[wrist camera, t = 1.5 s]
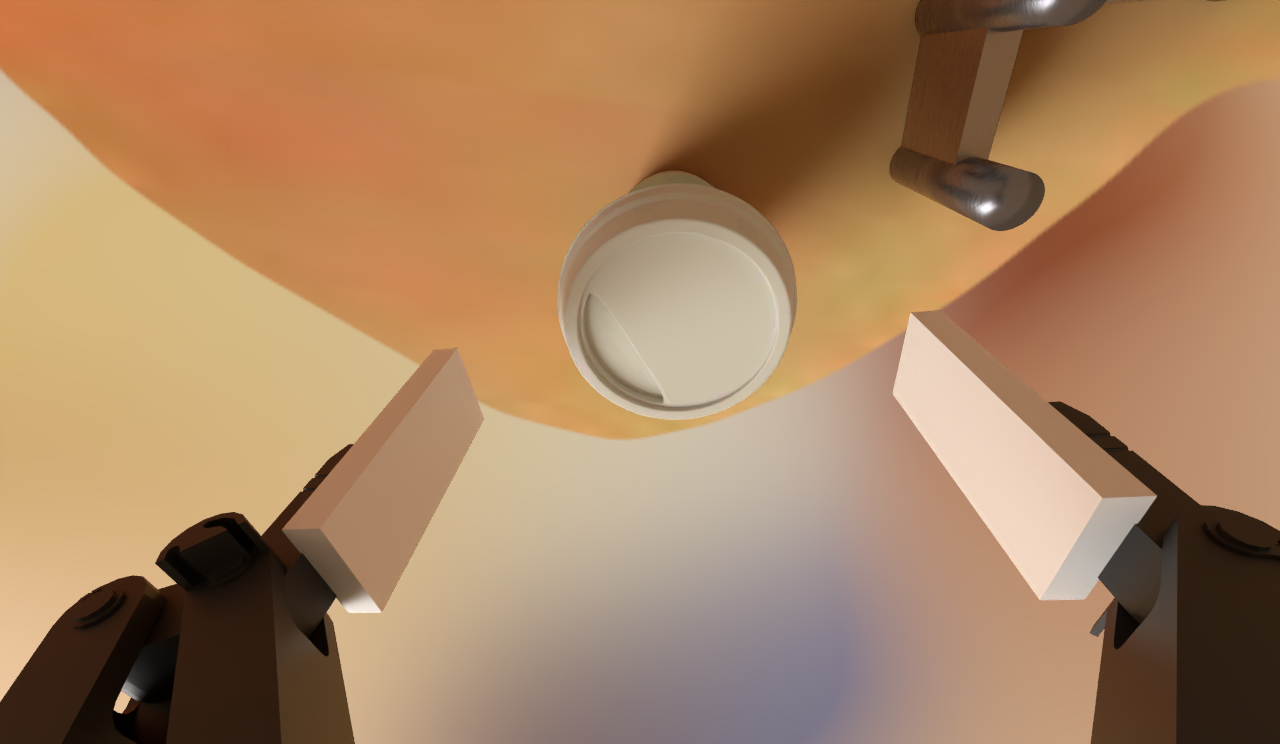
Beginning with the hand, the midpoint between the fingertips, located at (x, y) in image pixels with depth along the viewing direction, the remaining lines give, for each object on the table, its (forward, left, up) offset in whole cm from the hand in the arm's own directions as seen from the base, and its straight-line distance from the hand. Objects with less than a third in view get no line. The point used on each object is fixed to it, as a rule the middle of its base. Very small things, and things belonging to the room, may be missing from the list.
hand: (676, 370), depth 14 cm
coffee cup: (0, 0, -14) cm, 14 cm away
